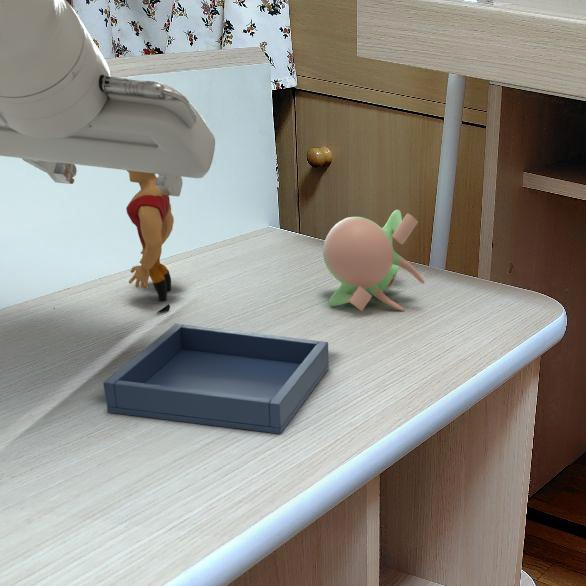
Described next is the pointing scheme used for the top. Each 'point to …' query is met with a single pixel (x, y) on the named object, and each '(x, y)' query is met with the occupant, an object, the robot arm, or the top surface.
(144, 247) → the action figure
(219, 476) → the top surface
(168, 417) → the blue tray
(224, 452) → the top surface
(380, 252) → the pink green toy creature
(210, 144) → the robot arm
